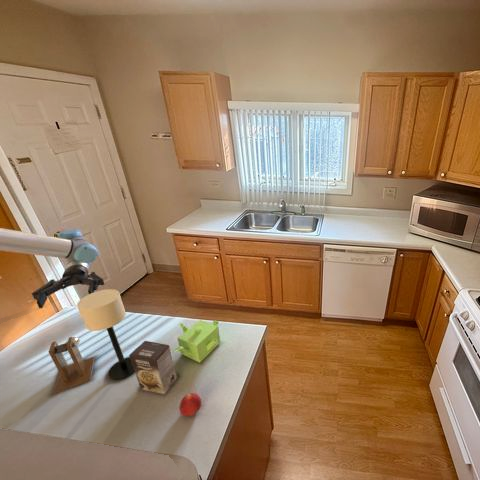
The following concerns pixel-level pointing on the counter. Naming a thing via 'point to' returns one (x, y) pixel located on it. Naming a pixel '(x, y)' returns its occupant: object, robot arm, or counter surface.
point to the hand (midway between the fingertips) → (65, 299)
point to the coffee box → (153, 366)
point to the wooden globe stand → (71, 367)
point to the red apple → (190, 404)
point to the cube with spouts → (198, 340)
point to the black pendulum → (63, 348)
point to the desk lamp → (107, 324)
